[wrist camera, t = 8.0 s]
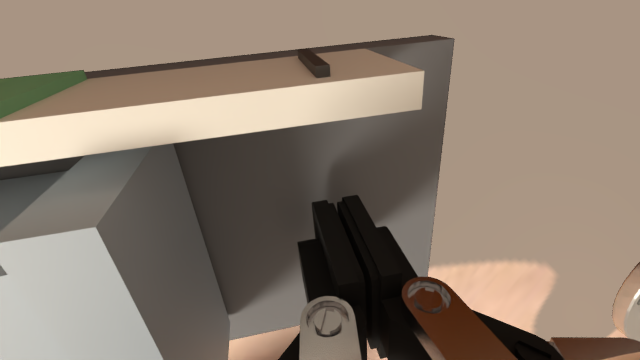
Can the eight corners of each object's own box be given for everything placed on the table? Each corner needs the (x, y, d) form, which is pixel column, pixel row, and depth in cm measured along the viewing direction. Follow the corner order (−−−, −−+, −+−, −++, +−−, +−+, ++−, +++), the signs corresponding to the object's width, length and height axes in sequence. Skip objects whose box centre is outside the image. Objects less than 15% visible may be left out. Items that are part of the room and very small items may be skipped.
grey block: (137, 32, 9) (11, 61, 4) (230, 322, 14) (220, 471, 10) (-206, 64, 8) (-874, 150, 3) (39, 362, 13) (-71, 548, 9)
